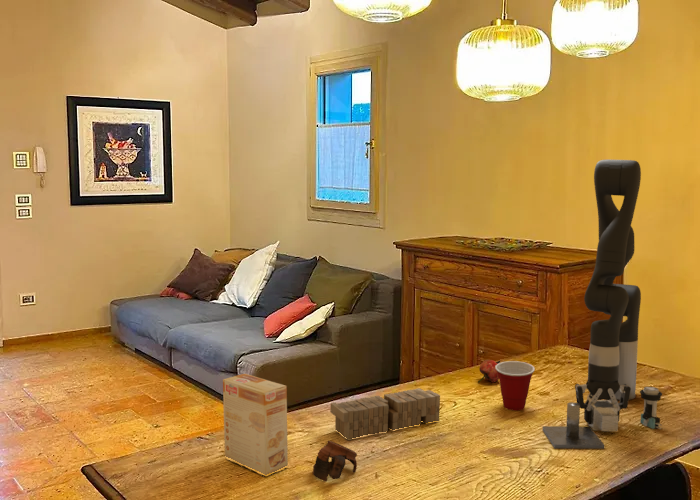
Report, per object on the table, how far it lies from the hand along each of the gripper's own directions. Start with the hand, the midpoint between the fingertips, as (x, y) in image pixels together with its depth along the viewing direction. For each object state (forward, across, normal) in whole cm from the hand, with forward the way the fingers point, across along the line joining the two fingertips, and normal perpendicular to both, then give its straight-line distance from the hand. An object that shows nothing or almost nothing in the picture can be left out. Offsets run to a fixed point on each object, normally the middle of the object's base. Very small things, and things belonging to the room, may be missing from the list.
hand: (601, 423), depth 189 cm
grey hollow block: (+1, 0, +2) cm, 2 cm away
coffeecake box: (+1, +87, +25) cm, 90 cm away
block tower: (+1, +56, +1) cm, 56 cm away
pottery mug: (+1, +68, +31) cm, 75 cm away
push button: (+1, -13, 0) cm, 13 cm away
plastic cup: (+1, +20, -14) cm, 24 cm away
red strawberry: (+1, +23, -38) cm, 44 cm away
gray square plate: (+1, +10, +9) cm, 13 cm away
